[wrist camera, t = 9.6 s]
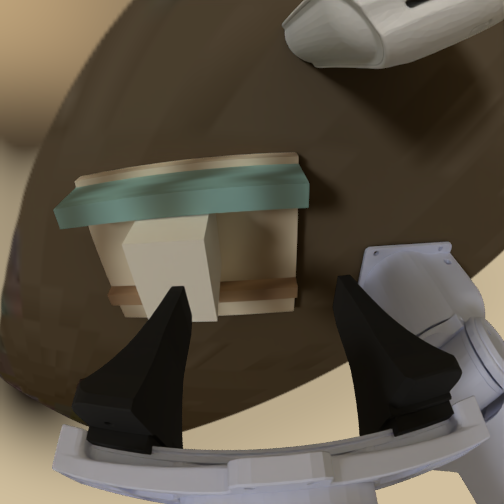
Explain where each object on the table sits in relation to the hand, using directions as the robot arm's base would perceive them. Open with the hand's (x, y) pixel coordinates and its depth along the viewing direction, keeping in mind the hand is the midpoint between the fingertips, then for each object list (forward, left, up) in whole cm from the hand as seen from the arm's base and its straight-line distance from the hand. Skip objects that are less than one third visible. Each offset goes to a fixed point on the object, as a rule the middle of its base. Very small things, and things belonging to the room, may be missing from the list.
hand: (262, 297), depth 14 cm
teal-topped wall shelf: (+5, +3, -9) cm, 11 cm away
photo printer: (-7, -14, -10) cm, 18 cm away
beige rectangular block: (+5, +1, -8) cm, 10 cm away
